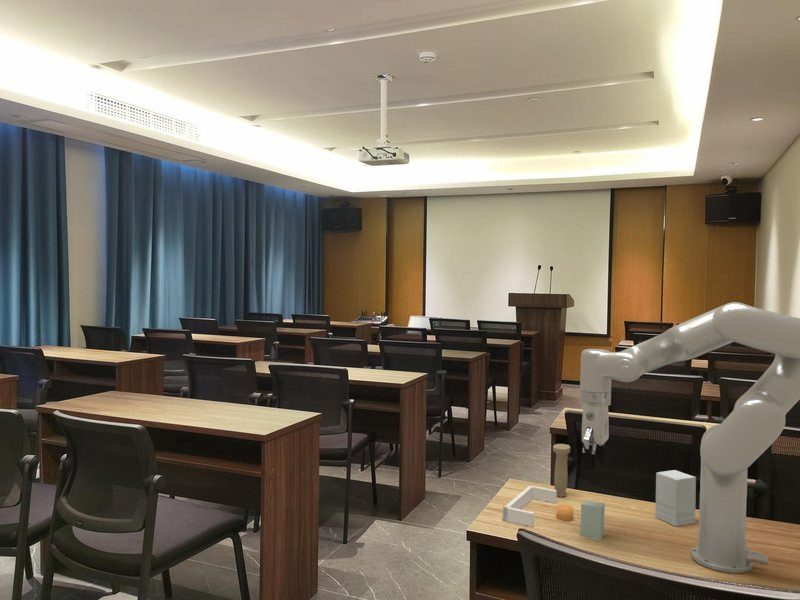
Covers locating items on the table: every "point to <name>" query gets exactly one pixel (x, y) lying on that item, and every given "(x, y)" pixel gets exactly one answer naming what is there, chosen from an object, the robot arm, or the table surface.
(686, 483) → the supplement box
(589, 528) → the grey tall block
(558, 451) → the handle
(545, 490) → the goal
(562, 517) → the puck
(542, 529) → the table surface
